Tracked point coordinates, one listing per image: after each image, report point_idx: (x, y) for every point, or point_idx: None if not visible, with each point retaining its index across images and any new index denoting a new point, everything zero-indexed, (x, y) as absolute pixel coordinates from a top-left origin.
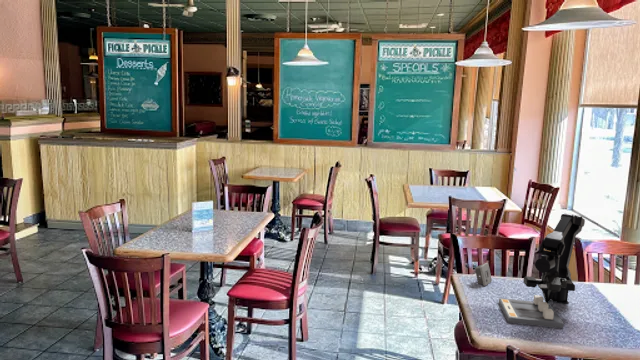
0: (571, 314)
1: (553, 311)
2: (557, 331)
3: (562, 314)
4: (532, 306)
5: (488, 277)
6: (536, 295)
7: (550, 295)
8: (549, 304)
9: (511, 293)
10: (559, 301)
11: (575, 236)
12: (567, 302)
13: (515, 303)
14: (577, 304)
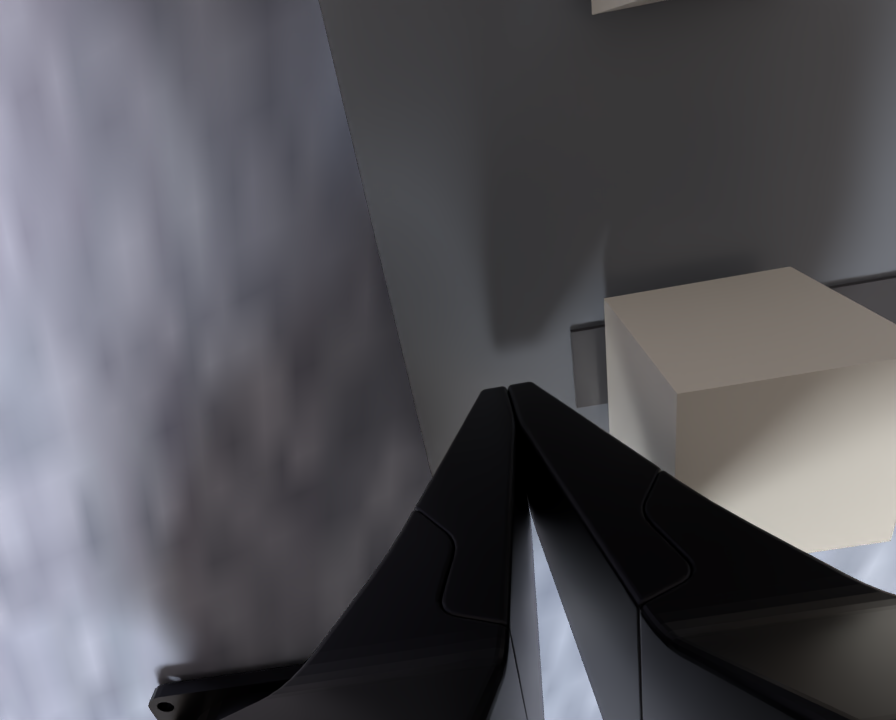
0: (38, 325)
1: (369, 25)
2: None
3: (192, 247)
4: (873, 160)
5: None
6: (826, 538)
7: (471, 534)
8: (431, 457)
9: None
10: (267, 687)
11: None
12: (162, 697)
13: None
14: (49, 704)
